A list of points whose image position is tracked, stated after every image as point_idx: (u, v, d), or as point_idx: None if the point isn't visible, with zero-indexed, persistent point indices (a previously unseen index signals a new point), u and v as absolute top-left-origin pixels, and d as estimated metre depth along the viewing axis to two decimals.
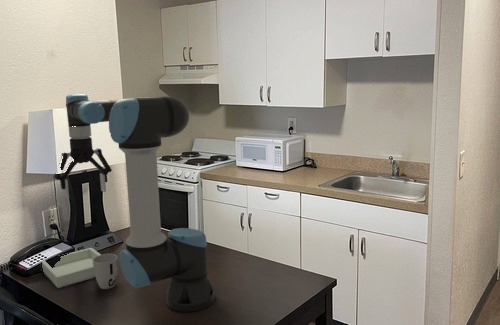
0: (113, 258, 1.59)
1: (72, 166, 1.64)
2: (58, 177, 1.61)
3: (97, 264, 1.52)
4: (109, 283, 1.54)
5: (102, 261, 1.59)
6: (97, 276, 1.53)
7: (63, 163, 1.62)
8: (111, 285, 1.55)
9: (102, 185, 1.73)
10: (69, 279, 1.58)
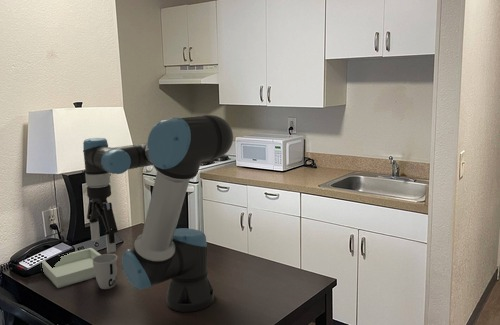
0: (113, 258, 1.59)
1: (92, 211, 1.55)
2: (87, 217, 1.59)
3: (97, 264, 1.52)
4: (109, 283, 1.54)
5: (102, 261, 1.59)
6: (97, 276, 1.53)
7: (89, 205, 1.57)
8: (111, 285, 1.55)
9: None
10: (69, 279, 1.58)
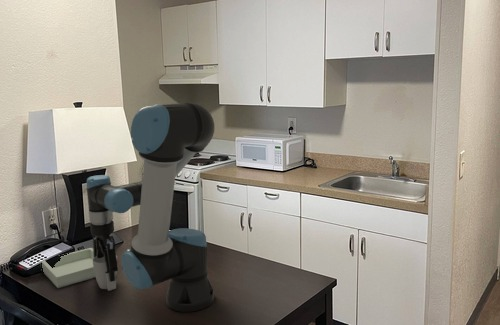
0: None
1: (97, 250, 1.56)
2: None
3: (97, 264, 1.52)
4: None
5: (102, 261, 1.59)
6: (97, 276, 1.53)
7: (93, 244, 1.59)
8: None
9: None
10: (69, 279, 1.58)
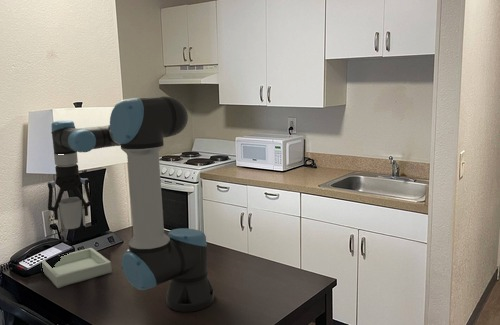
0: (65, 202, 1.67)
1: (60, 195, 1.61)
2: (50, 208, 1.60)
3: (76, 203, 1.62)
4: None
5: None
6: (74, 216, 1.62)
7: (50, 193, 1.60)
8: None
9: None
10: (69, 279, 1.58)
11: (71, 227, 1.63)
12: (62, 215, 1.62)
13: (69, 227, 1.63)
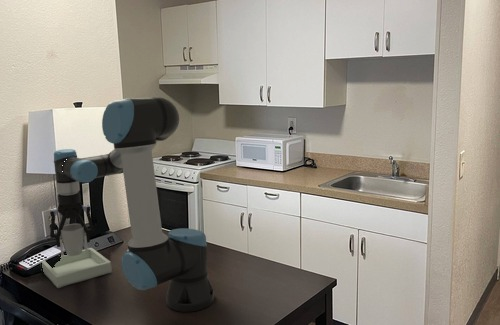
0: (68, 228, 1.69)
1: (62, 223, 1.63)
2: (52, 235, 1.63)
3: (78, 230, 1.64)
4: None
5: None
6: (76, 243, 1.64)
7: (52, 221, 1.62)
8: None
9: None
10: (69, 279, 1.58)
11: (73, 254, 1.65)
12: (64, 242, 1.64)
13: (71, 254, 1.65)
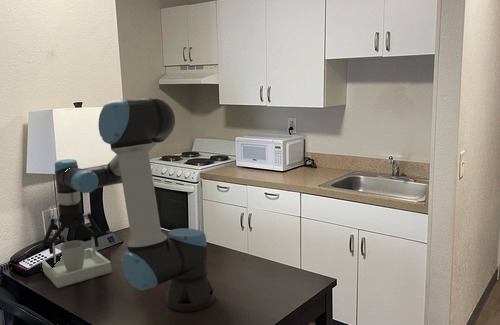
0: (68, 245, 1.70)
1: (60, 231, 1.63)
2: (45, 242, 1.62)
3: (78, 248, 1.65)
4: None
5: None
6: (77, 260, 1.65)
7: (50, 229, 1.62)
8: None
9: (93, 249, 1.70)
10: (69, 279, 1.58)
11: None
12: (65, 260, 1.65)
13: (71, 271, 1.66)
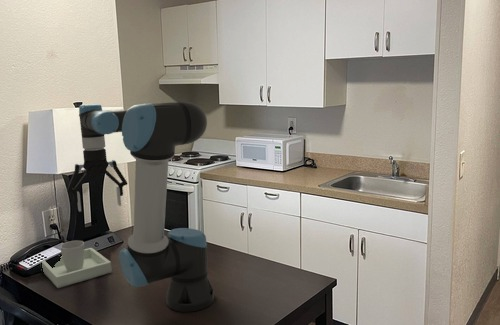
0: (68, 245, 1.70)
1: (84, 178, 1.58)
2: (70, 189, 1.57)
3: (78, 248, 1.65)
4: None
5: None
6: (77, 260, 1.65)
7: (75, 175, 1.57)
8: None
9: (117, 199, 1.65)
10: (69, 279, 1.58)
11: None
12: (65, 260, 1.65)
13: (71, 271, 1.66)
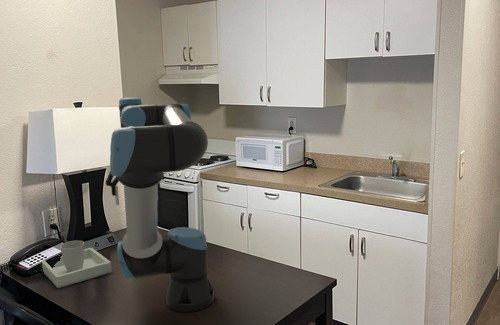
0: (68, 245, 1.70)
1: None
2: (108, 183, 1.56)
3: (78, 248, 1.65)
4: None
5: None
6: (77, 260, 1.65)
7: None
8: None
9: None
10: (69, 279, 1.58)
11: None
12: (65, 260, 1.65)
13: (71, 271, 1.66)
